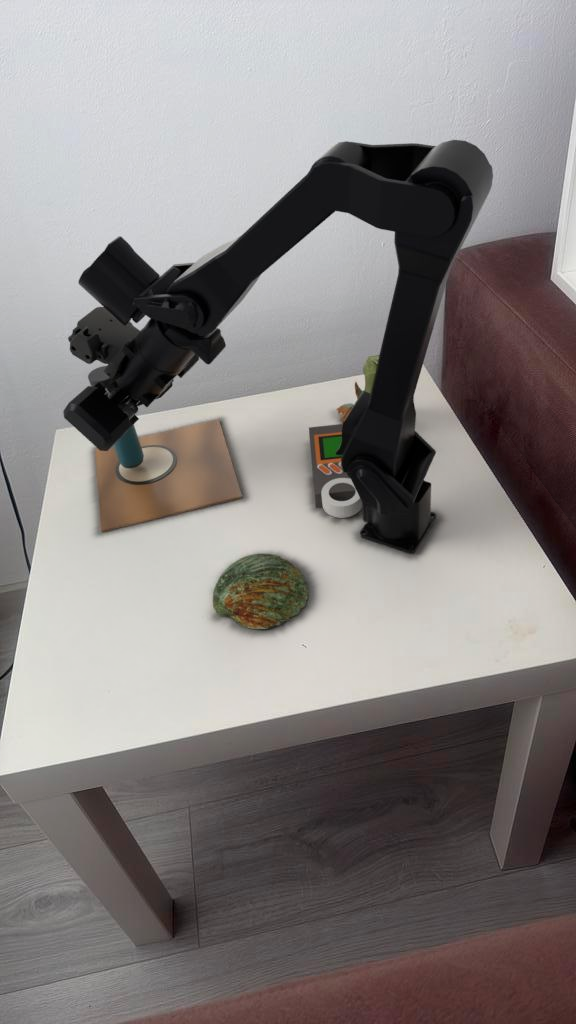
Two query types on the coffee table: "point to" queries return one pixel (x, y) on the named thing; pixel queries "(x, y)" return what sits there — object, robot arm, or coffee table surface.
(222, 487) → the brown square board
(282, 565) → the seashell
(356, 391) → the dragon figurine
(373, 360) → the green tall rounded piece
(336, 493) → the electronic device
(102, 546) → the coffee table surface
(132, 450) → the cylinder
